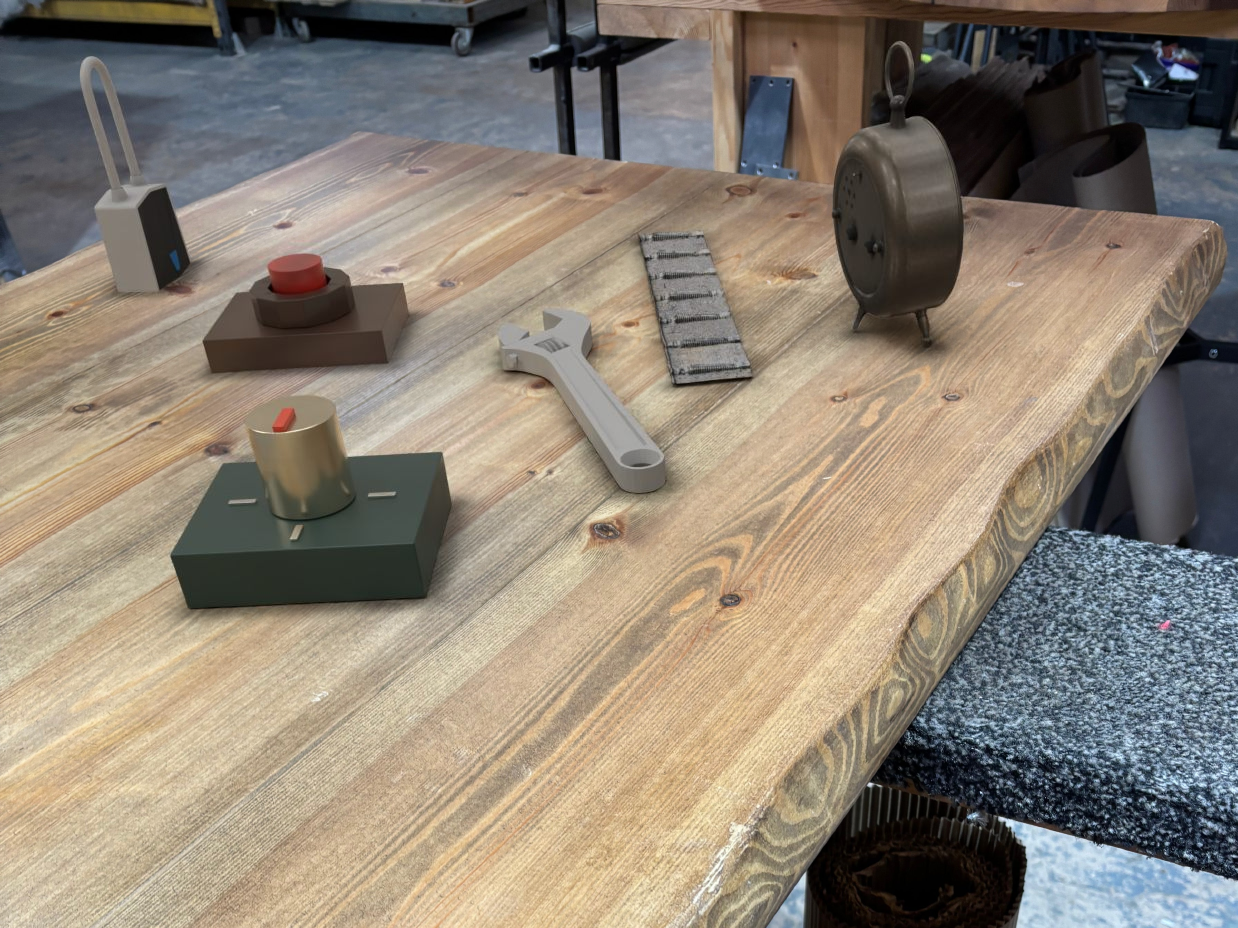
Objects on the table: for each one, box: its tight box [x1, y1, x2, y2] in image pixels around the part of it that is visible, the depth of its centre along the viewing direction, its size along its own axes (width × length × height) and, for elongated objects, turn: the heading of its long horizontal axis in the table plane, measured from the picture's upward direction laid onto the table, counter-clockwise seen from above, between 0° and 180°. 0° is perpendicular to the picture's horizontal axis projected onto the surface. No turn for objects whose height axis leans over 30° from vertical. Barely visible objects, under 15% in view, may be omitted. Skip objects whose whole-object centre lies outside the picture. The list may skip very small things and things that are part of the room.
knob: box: [244, 394, 355, 520], centre depth 66 cm, size 4×4×5 cm
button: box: [266, 252, 327, 295], centre depth 89 cm, size 4×4×2 cm
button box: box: [201, 266, 410, 374], centre depth 91 cm, size 12×9×4 cm
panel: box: [169, 451, 453, 609], centre depth 68 cm, size 12×10×3 cm
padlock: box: [79, 55, 192, 293], centre depth 99 cm, size 7×4×15 cm, turn 173°
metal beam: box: [637, 229, 753, 385], centre depth 93 cm, size 30×1×5 cm
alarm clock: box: [831, 40, 965, 348], centre depth 82 cm, size 11×5×16 cm, turn 17°
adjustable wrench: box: [497, 308, 666, 494], centre depth 81 cm, size 25×6×2 cm, turn 14°
